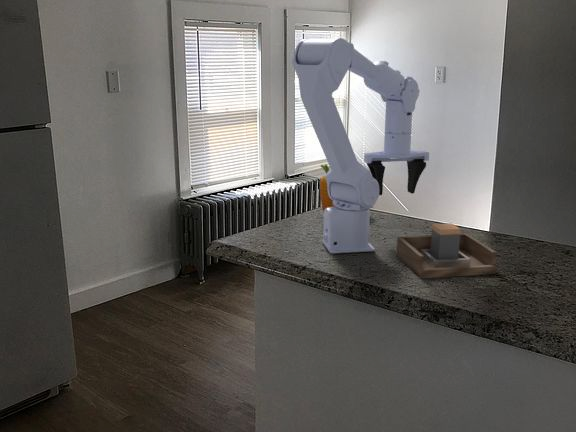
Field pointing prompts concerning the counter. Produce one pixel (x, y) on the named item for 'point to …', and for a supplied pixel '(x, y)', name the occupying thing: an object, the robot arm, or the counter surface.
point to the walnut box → (468, 246)
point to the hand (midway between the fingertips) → (395, 193)
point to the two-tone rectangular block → (445, 241)
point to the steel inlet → (446, 263)
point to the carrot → (325, 191)
